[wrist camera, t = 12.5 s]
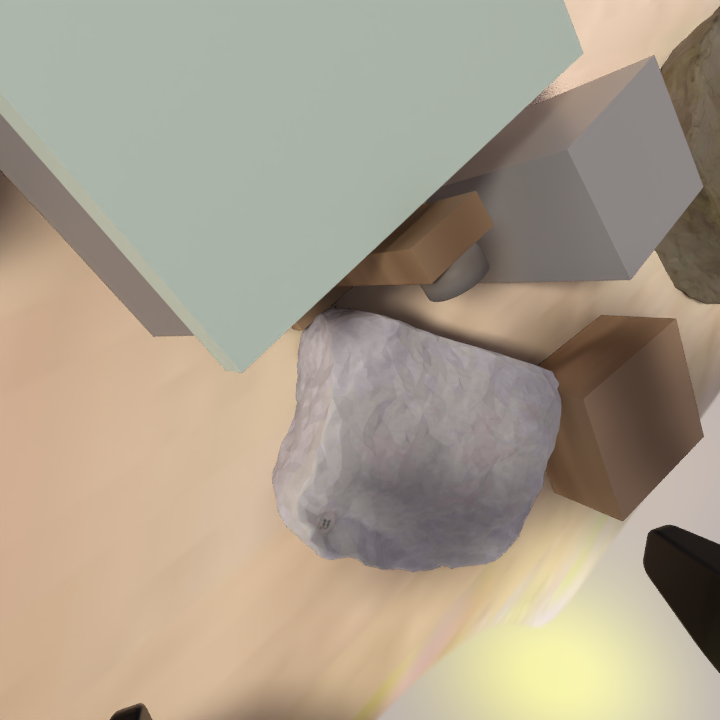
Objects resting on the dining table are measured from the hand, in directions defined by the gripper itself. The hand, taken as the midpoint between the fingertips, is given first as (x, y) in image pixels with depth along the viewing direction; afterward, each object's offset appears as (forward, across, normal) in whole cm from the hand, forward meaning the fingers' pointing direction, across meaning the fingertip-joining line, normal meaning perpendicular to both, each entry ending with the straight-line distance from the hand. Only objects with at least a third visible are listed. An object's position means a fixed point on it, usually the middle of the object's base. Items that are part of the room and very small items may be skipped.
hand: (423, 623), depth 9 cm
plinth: (+15, -14, +8) cm, 22 cm away
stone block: (+13, -4, +6) cm, 14 cm away
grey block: (+16, -10, -4) cm, 19 cm away
